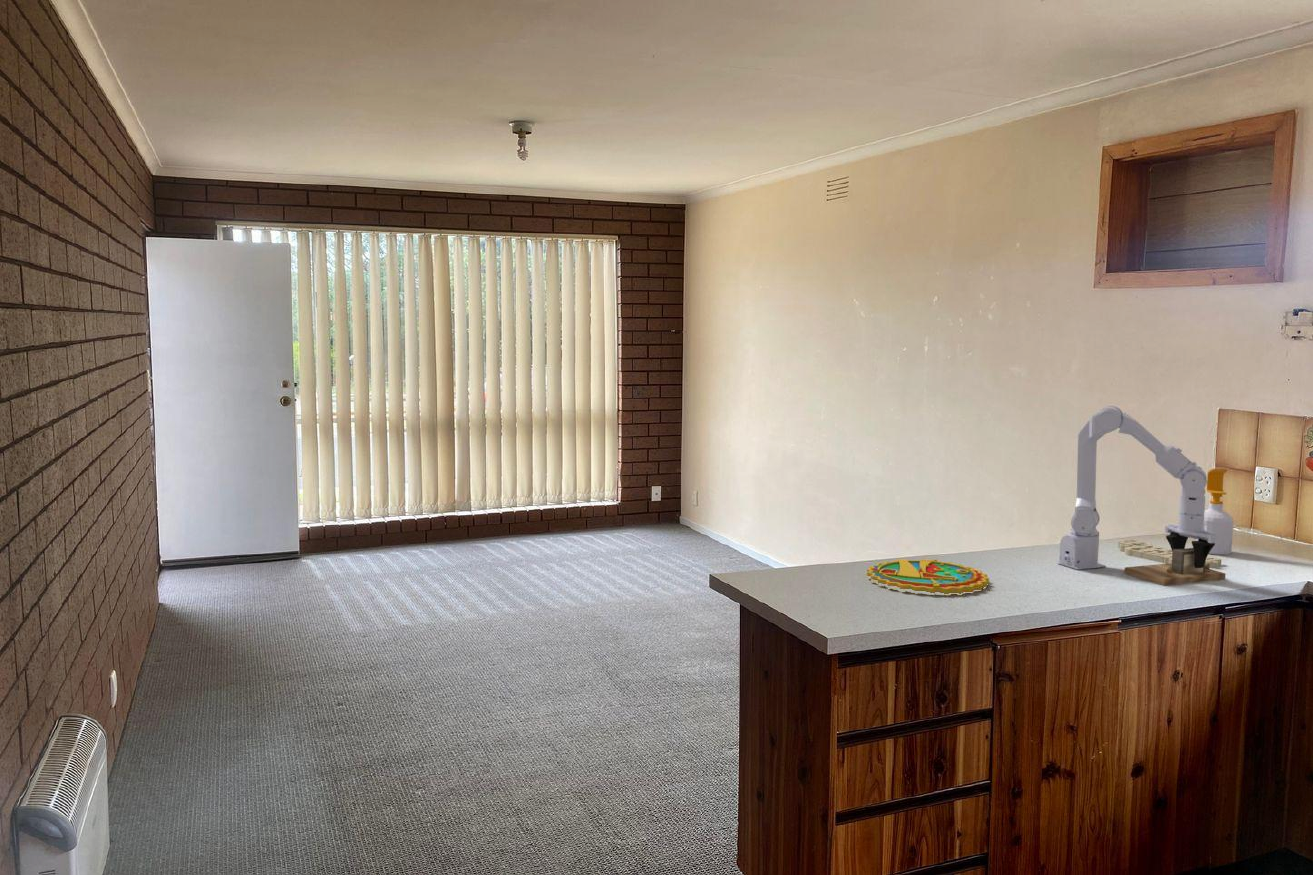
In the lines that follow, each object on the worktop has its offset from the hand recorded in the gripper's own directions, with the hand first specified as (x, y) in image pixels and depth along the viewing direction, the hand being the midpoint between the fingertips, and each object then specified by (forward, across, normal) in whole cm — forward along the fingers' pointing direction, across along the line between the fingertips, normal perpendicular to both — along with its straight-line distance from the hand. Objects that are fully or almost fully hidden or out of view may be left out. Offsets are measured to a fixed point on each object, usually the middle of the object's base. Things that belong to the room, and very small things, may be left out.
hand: (1188, 564), depth 248 cm
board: (+3, +2, +3) cm, 5 cm away
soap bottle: (+3, +20, -31) cm, 37 cm away
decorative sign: (+4, +20, -12) cm, 23 cm away
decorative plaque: (+4, +18, +67) cm, 69 cm away
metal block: (+3, 0, 0) cm, 3 cm away
